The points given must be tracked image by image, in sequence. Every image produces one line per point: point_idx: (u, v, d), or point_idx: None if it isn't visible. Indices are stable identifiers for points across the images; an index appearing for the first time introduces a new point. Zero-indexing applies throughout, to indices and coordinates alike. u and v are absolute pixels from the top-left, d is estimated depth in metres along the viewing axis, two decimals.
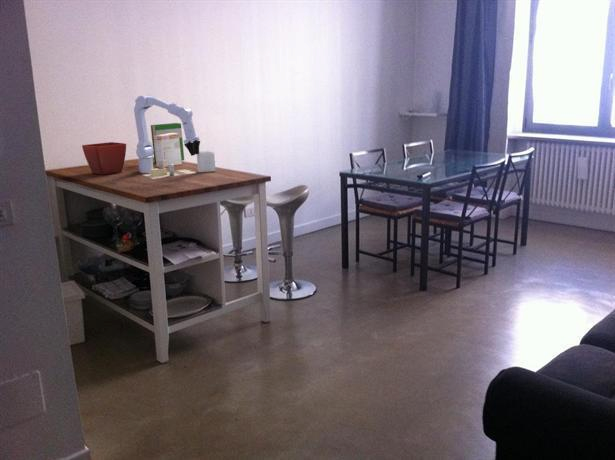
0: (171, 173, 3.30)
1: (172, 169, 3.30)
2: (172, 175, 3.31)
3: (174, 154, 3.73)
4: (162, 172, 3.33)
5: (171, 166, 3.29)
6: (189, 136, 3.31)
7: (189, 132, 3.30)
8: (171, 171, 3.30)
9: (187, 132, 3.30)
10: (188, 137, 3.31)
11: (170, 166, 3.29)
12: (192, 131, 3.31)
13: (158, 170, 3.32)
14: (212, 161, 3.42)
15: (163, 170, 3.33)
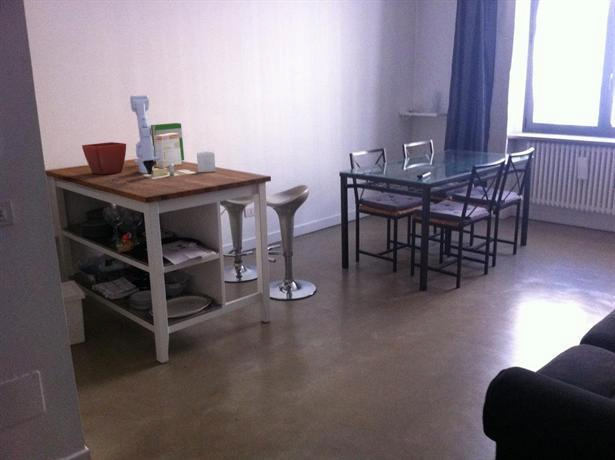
0: (171, 173, 3.30)
1: (172, 169, 3.30)
2: (172, 175, 3.31)
3: (174, 154, 3.73)
4: (162, 172, 3.33)
5: (171, 166, 3.29)
6: (143, 156, 3.27)
7: (143, 152, 3.26)
8: (171, 171, 3.30)
9: (142, 151, 3.27)
10: (142, 156, 3.28)
11: (170, 166, 3.29)
12: (146, 151, 3.26)
13: (158, 170, 3.32)
14: (212, 161, 3.42)
15: (163, 170, 3.33)
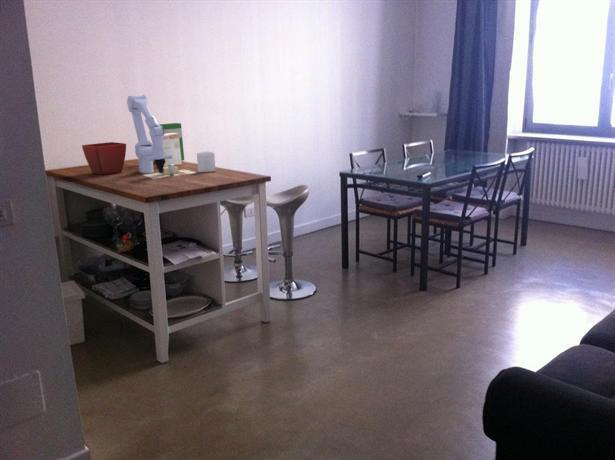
0: (171, 173, 3.30)
1: (172, 169, 3.30)
2: (172, 175, 3.31)
3: (174, 154, 3.73)
4: None
5: (171, 166, 3.29)
6: (154, 154, 3.31)
7: (154, 150, 3.30)
8: (171, 171, 3.30)
9: (153, 150, 3.30)
10: (154, 155, 3.31)
11: (170, 166, 3.29)
12: (157, 150, 3.29)
13: None
14: (212, 161, 3.42)
15: (174, 169, 3.37)
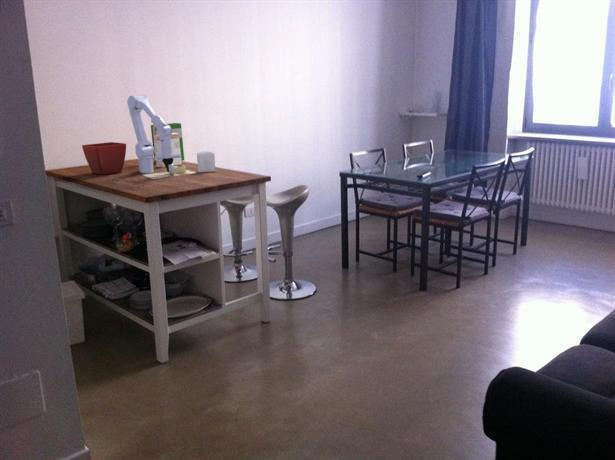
0: (171, 173, 3.30)
1: (172, 169, 3.30)
2: (172, 175, 3.31)
3: None
4: (181, 170, 3.39)
5: (171, 166, 3.29)
6: (162, 153, 3.33)
7: (163, 150, 3.32)
8: (171, 171, 3.30)
9: (161, 149, 3.33)
10: (162, 154, 3.34)
11: (170, 166, 3.29)
12: (166, 149, 3.32)
13: (177, 168, 3.38)
14: (212, 161, 3.42)
15: (182, 168, 3.39)
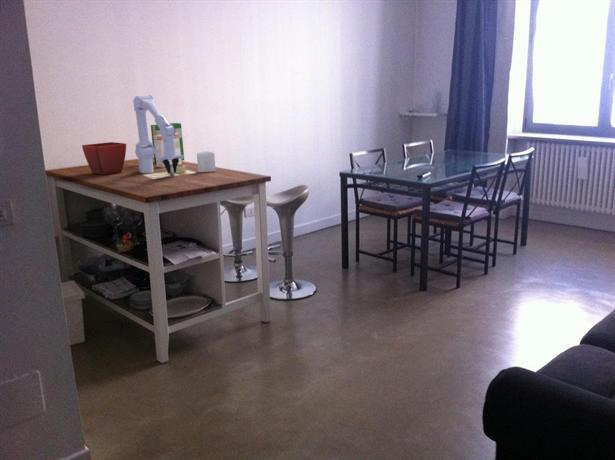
0: (171, 173, 3.30)
1: (172, 169, 3.30)
2: (172, 175, 3.31)
3: None
4: (181, 170, 3.39)
5: (171, 166, 3.29)
6: (165, 154, 3.27)
7: (165, 150, 3.26)
8: (171, 171, 3.30)
9: (164, 150, 3.27)
10: (165, 155, 3.27)
11: (170, 166, 3.29)
12: (168, 150, 3.25)
13: (177, 168, 3.38)
14: (212, 161, 3.42)
15: (182, 168, 3.39)
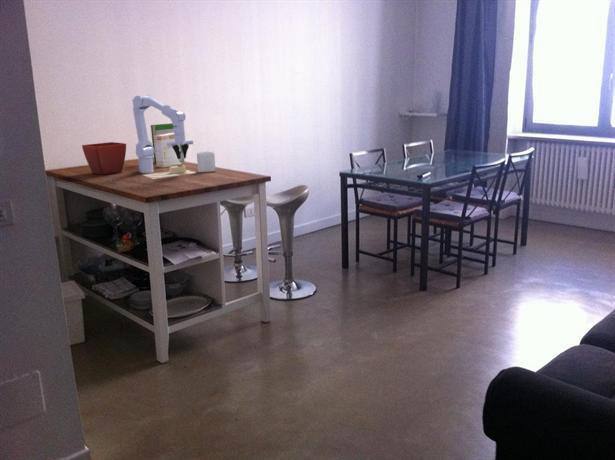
0: (181, 160, 3.32)
1: (182, 156, 3.31)
2: None
3: (174, 154, 3.73)
4: (181, 170, 3.39)
5: (181, 153, 3.31)
6: (175, 140, 3.28)
7: (175, 136, 3.27)
8: (181, 158, 3.31)
9: (174, 135, 3.28)
10: (175, 140, 3.29)
11: (180, 153, 3.31)
12: (178, 135, 3.27)
13: (177, 168, 3.38)
14: (212, 161, 3.42)
15: (182, 168, 3.39)
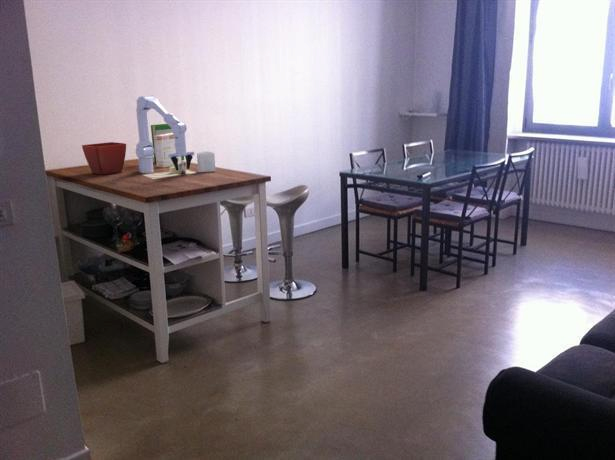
0: (182, 172, 3.33)
1: (183, 168, 3.33)
2: None
3: None
4: None
5: (182, 165, 3.33)
6: (176, 151, 3.30)
7: (177, 147, 3.29)
8: (182, 170, 3.33)
9: (175, 146, 3.30)
10: (176, 151, 3.31)
11: (181, 165, 3.32)
12: (180, 147, 3.29)
13: None
14: (212, 161, 3.42)
15: None
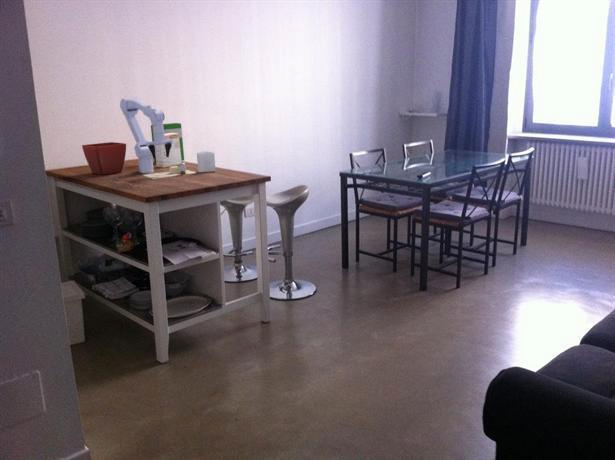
0: (182, 172, 3.33)
1: (183, 168, 3.33)
2: None
3: (174, 154, 3.73)
4: None
5: (182, 165, 3.33)
6: (154, 139, 3.31)
7: (155, 135, 3.30)
8: (182, 170, 3.33)
9: None
10: (154, 140, 3.32)
11: (181, 165, 3.32)
12: (158, 135, 3.30)
13: (177, 168, 3.38)
14: (212, 161, 3.42)
15: None
